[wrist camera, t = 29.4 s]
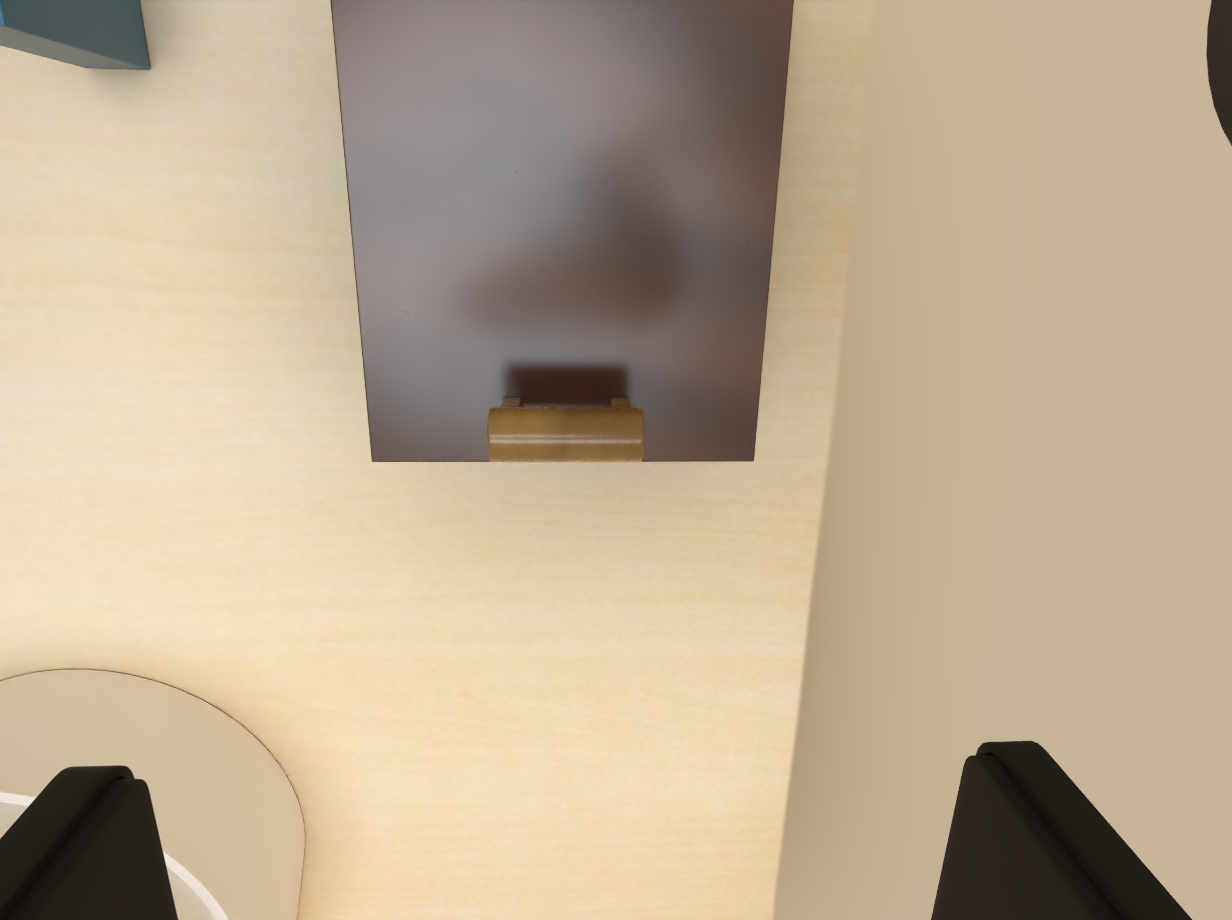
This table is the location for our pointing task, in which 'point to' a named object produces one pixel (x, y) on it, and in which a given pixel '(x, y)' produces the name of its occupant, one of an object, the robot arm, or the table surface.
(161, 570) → the table surface
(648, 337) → the lid
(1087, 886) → the robot arm
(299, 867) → the container
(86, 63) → the blue hardcover book
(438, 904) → the table surface
